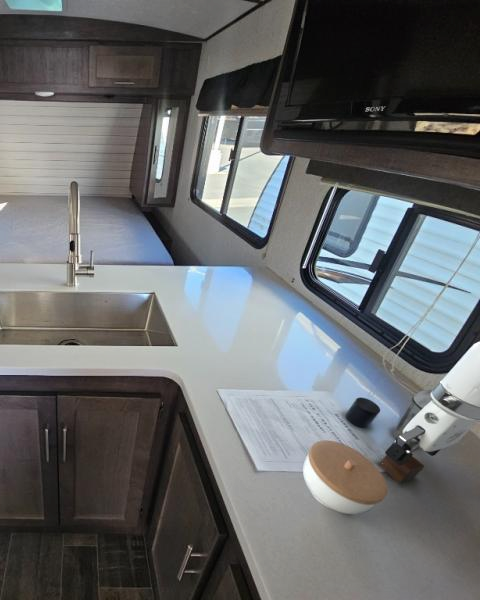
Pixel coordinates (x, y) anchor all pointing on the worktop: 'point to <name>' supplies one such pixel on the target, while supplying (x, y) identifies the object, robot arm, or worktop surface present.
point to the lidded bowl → (343, 478)
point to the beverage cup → (413, 411)
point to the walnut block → (402, 468)
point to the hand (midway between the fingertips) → (409, 454)
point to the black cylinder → (362, 412)
